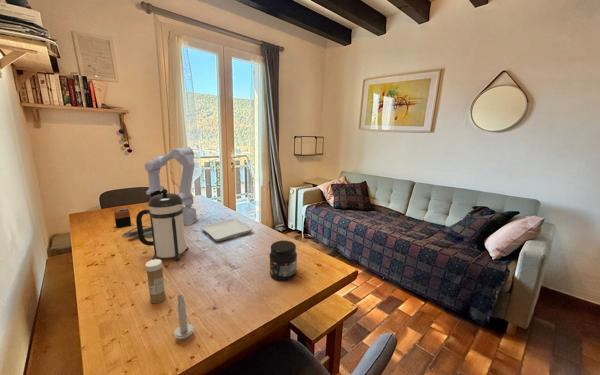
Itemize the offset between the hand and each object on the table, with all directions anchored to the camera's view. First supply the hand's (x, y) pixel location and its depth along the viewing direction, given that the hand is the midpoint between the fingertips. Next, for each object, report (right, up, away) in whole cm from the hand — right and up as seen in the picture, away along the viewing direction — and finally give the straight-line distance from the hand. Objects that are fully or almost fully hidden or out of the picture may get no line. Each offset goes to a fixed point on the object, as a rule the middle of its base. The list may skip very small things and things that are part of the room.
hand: (157, 203), depth 153 cm
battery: (-12, -12, -12) cm, 21 cm away
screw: (+56, -31, -85) cm, 107 cm away
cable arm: (+7, -14, -24) cm, 29 cm away
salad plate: (+48, -15, -17) cm, 53 cm away
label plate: (+5, -14, -19) cm, 25 cm away
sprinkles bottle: (+41, -27, -71) cm, 86 cm away
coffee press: (+29, -21, -43) cm, 56 cm away
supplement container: (+81, -24, -55) cm, 101 cm away
